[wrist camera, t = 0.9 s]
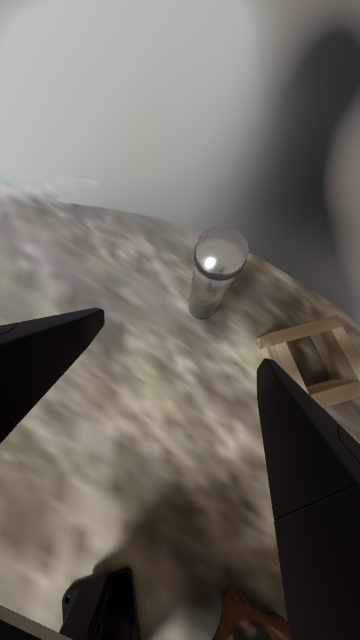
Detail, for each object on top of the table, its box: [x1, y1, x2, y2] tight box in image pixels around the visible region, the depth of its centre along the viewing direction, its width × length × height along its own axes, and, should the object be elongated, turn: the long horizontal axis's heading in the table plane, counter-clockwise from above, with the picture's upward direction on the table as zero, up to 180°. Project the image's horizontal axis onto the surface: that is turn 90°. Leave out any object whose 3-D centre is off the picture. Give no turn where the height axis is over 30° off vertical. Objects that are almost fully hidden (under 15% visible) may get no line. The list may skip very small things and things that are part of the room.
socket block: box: [256, 315, 360, 408], centre depth 21 cm, size 9×9×4 cm
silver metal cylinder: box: [188, 227, 249, 319], centre depth 19 cm, size 4×4×12 cm
